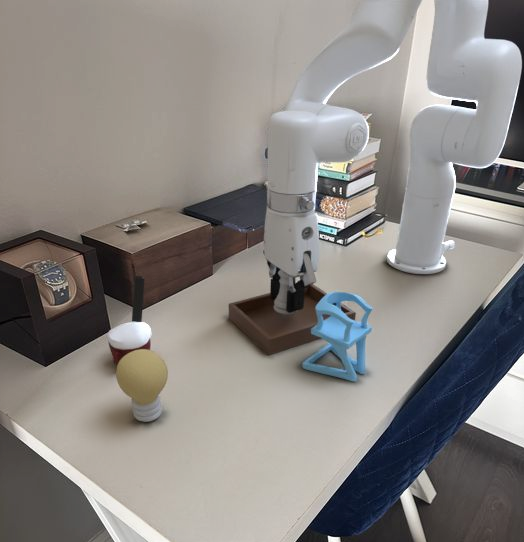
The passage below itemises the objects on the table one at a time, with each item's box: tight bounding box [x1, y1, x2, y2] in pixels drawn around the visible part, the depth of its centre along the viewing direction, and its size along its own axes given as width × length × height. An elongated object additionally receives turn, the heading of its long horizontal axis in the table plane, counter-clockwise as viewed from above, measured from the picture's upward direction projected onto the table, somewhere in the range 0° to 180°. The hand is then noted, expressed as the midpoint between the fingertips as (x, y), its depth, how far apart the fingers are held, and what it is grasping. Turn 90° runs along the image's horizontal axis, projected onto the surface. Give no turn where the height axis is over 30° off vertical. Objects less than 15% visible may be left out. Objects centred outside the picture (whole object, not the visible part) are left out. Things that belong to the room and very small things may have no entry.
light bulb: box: [115, 349, 169, 423], centre depth 66 cm, size 6×6×10 cm
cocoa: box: [106, 275, 153, 366], centre depth 77 cm, size 10×6×12 cm, turn 140°
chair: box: [302, 291, 374, 383], centre depth 75 cm, size 8×8×12 cm
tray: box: [228, 283, 357, 356], centre depth 89 cm, size 18×14×3 cm
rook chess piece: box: [274, 269, 297, 315], centre depth 87 cm, size 4×4×8 cm
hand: (286, 303), depth 89 cm, fingers closed on rook chess piece, 4 cm apart
